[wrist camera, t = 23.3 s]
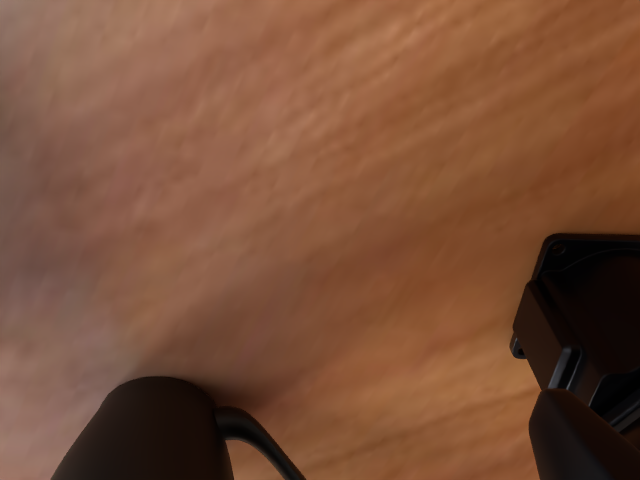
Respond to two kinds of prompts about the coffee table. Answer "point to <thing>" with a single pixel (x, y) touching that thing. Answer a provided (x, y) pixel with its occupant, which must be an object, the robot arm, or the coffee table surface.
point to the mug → (165, 436)
